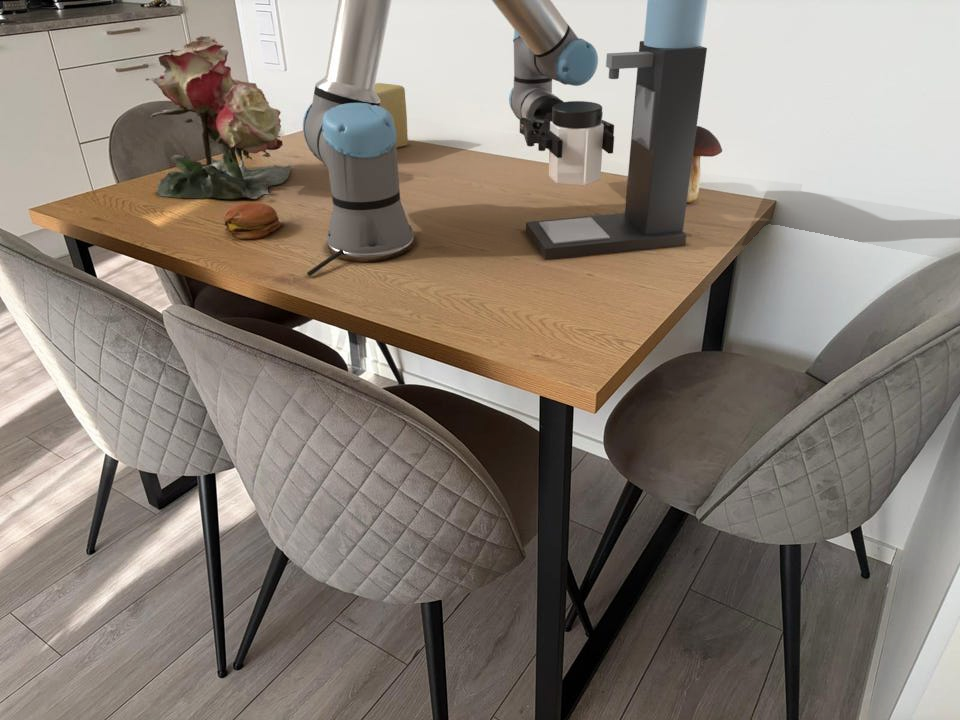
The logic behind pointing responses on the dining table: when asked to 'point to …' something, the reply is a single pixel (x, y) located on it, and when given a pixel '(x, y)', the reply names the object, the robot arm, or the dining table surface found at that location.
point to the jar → (577, 143)
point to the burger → (251, 220)
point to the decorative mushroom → (705, 147)
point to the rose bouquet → (219, 125)
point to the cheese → (394, 108)
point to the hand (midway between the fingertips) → (585, 147)
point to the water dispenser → (647, 142)
